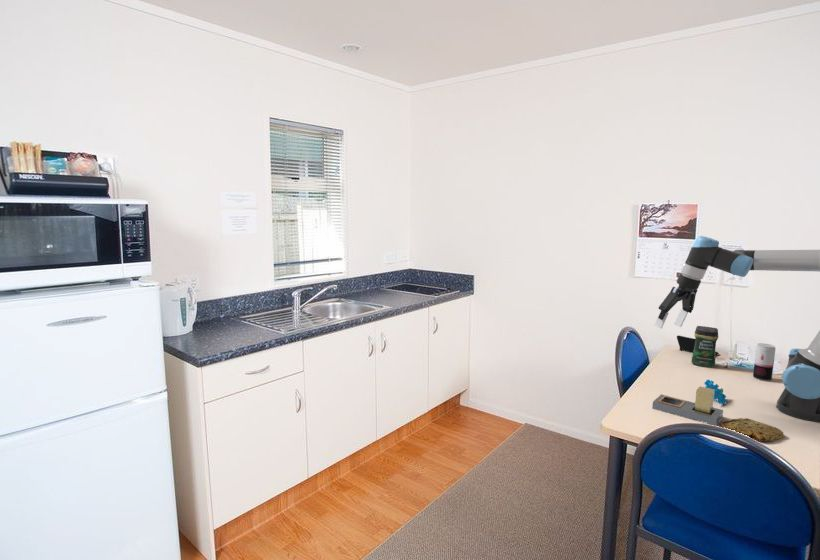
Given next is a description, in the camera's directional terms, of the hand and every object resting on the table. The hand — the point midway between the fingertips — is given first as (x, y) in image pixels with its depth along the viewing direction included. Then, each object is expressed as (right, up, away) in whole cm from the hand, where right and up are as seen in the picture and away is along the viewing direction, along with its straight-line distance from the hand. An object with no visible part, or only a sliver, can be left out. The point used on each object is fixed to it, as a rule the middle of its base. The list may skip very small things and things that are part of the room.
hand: (668, 326), depth 183 cm
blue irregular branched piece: (+15, -28, -5) cm, 32 cm away
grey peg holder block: (-2, -29, -16) cm, 34 cm away
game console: (+47, -20, +57) cm, 77 cm away
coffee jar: (+38, -22, +38) cm, 58 cm away
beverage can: (+52, -25, +20) cm, 61 cm away
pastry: (+11, -32, -30) cm, 45 cm away
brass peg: (+1, -30, -20) cm, 36 cm away
